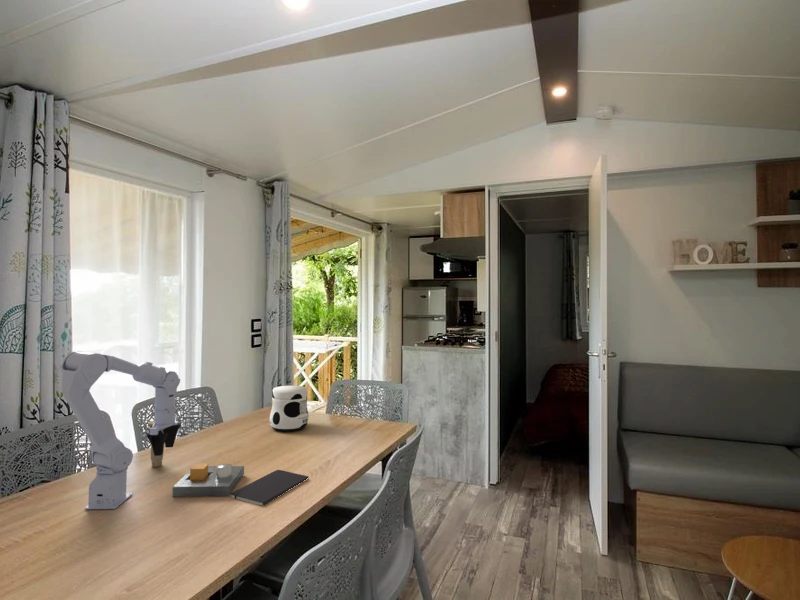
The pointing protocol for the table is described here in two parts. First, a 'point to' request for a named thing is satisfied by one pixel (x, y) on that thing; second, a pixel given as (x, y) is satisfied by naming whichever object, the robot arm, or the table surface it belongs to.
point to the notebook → (268, 487)
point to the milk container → (289, 408)
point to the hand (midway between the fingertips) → (164, 451)
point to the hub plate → (210, 482)
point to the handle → (154, 459)
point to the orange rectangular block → (199, 472)
